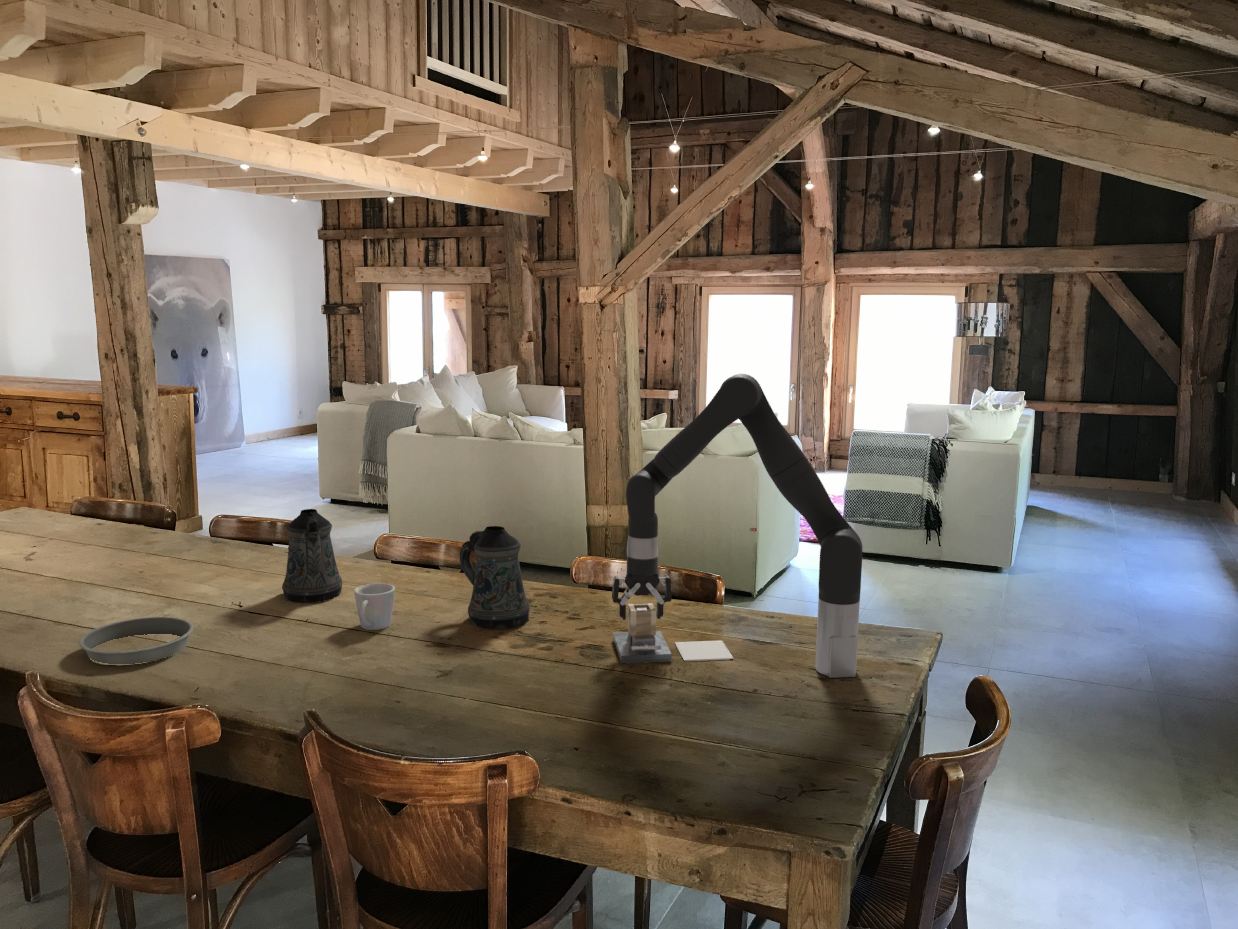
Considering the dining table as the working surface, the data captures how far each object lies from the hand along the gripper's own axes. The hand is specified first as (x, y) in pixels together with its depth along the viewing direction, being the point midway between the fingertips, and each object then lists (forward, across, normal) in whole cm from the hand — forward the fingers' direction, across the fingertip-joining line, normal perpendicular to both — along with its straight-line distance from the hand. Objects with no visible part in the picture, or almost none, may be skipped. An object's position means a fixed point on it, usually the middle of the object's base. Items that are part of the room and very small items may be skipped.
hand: (641, 618), depth 228 cm
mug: (+9, -67, +23) cm, 71 cm away
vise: (+8, 0, 0) cm, 8 cm away
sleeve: (+3, 0, 0) cm, 3 cm away
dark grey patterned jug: (+9, -87, +53) cm, 102 cm away
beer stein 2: (+9, -36, +27) cm, 46 cm away
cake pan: (+10, -121, +13) cm, 122 cm away
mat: (+8, +15, -2) cm, 17 cm away
